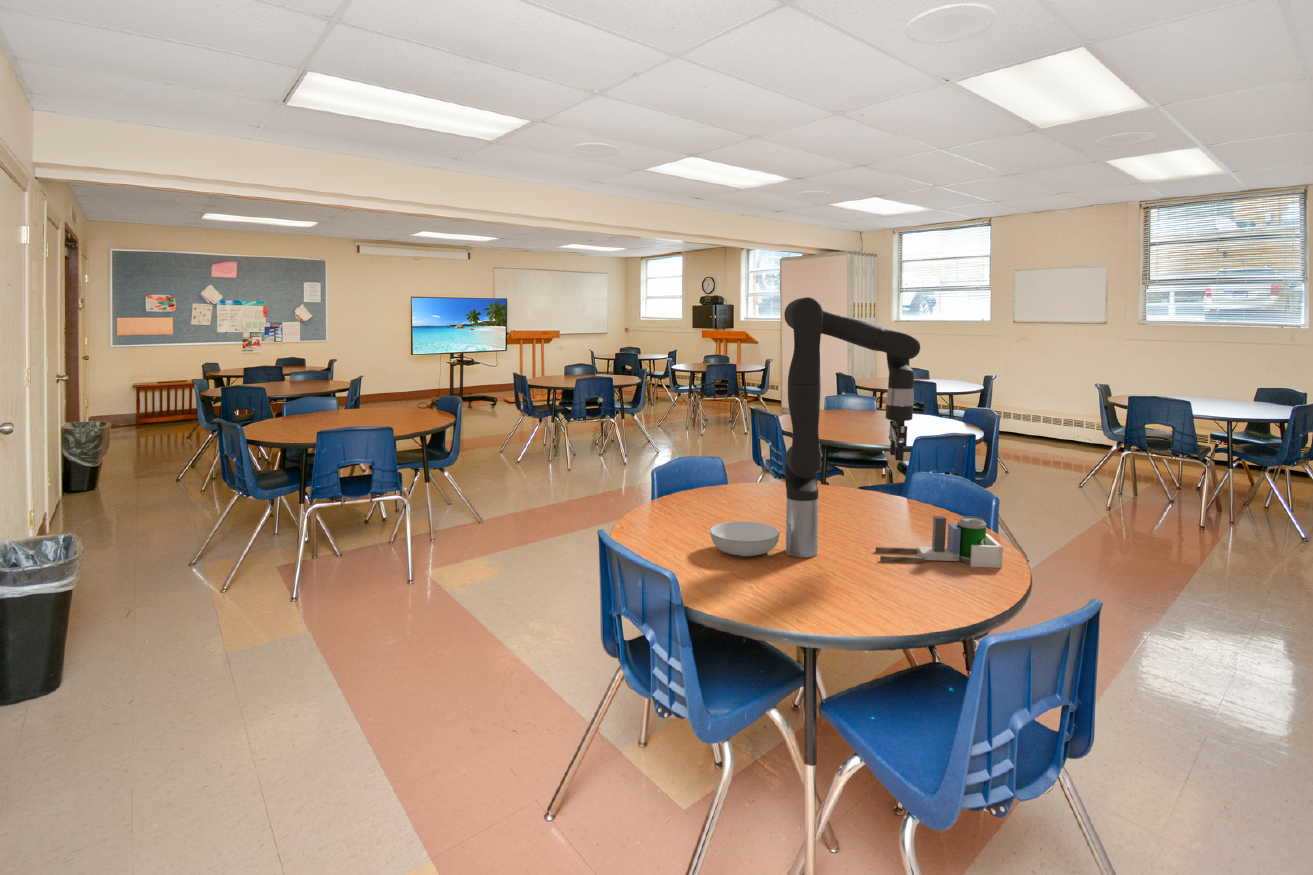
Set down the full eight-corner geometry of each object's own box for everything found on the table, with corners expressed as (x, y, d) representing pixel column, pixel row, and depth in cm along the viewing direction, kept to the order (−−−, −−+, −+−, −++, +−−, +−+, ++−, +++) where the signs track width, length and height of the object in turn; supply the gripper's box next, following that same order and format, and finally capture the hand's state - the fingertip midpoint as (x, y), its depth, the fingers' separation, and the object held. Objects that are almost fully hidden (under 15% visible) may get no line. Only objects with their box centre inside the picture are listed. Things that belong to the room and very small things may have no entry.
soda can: (975, 565, 187) (978, 524, 185) (950, 558, 193) (952, 518, 191) (989, 560, 192) (991, 519, 190) (964, 553, 198) (966, 514, 196)
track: (880, 561, 192) (880, 556, 192) (875, 551, 201) (875, 546, 201) (924, 562, 190) (924, 557, 190) (917, 552, 199) (917, 547, 199)
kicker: (922, 559, 192) (924, 519, 190) (917, 553, 198) (919, 513, 196) (959, 560, 190) (961, 520, 188) (953, 554, 196) (955, 514, 194)
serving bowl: (778, 565, 191) (778, 542, 190) (706, 561, 196) (705, 539, 194) (780, 542, 211) (780, 521, 210) (714, 540, 216) (714, 519, 215)
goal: (971, 566, 187) (972, 546, 186) (957, 551, 199) (958, 532, 198) (1001, 567, 185) (1003, 546, 184) (986, 552, 198) (987, 533, 197)
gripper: (882, 400, 204) (879, 453, 207) (890, 405, 190) (887, 461, 193) (908, 401, 203) (904, 454, 205) (918, 406, 189) (914, 462, 191)
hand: (896, 457), depth 199 cm, fingers open, 8 cm apart
